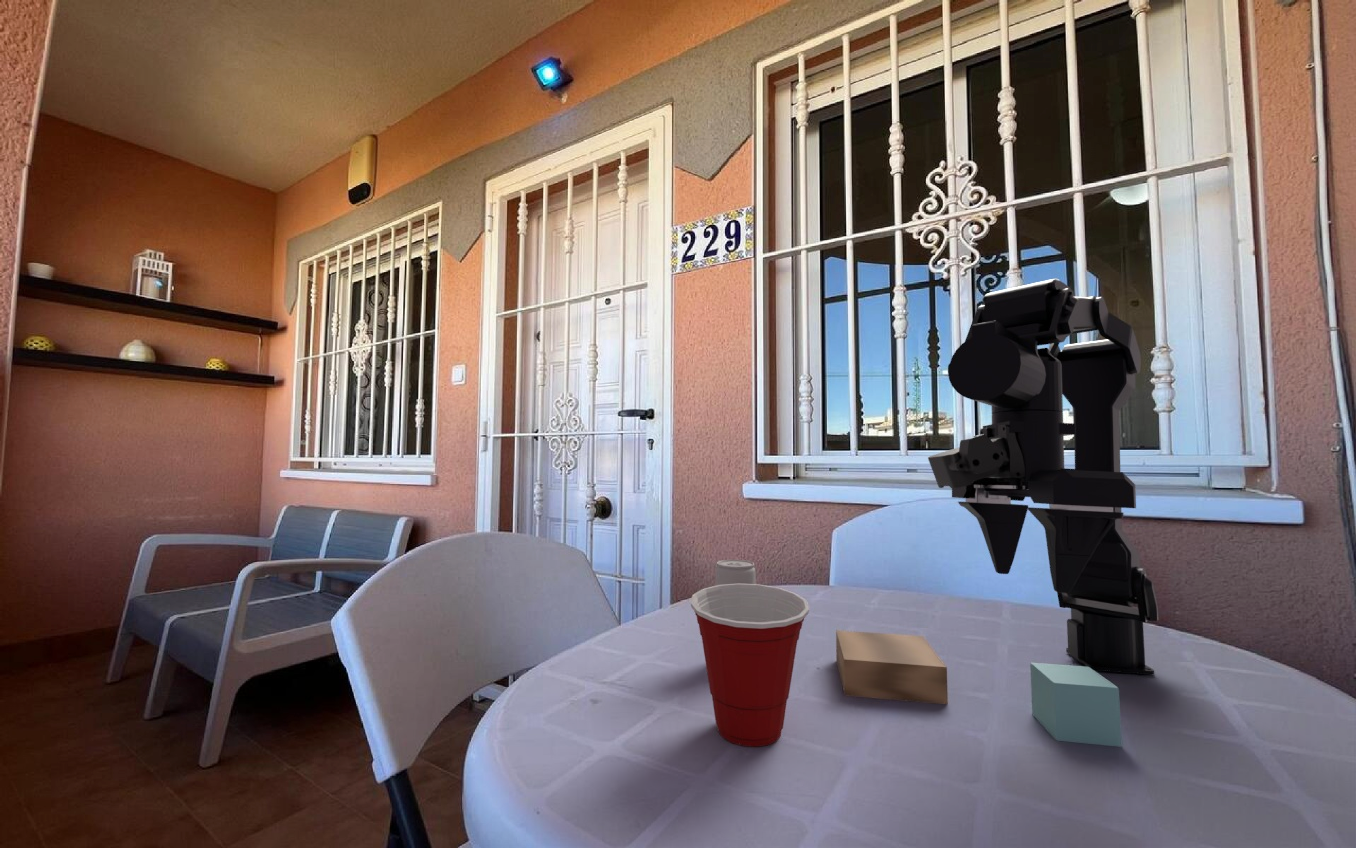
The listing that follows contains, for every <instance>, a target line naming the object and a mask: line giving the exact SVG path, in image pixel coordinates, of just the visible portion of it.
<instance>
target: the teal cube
mask: <svg viewBox="0 0 1356 848" xmlns="http://www.w3.org/2000/svg"><path fill="white" fill-rule="evenodd" d="M1029 666H1030V667H1029V668H1030V688H1031V689H1030V691H1031V713H1032V716H1033V717H1034V718H1035V719H1036V720H1037V721H1038V722H1039V723H1040V724H1041V725H1042V727H1043V728H1044V729H1045V730H1046V731H1047V732H1048V733H1049V734H1050V735H1051V737H1053V739H1054V740H1055V741H1060V742H1069V743H1070V742H1071V743H1080V744H1090V745H1097V746H1098V745H1099V746H1110V747H1119V748H1120V747H1123V746H1122V743H1123V742H1122V726H1121V708H1120V707H1121V706H1120V705H1121V704H1120V689H1119V687H1118V686H1117V685H1115V684H1114V683H1112V682H1111V681H1110V680H1108V679H1106V678H1105V677H1104V676H1102V675H1101V674H1100V673H1099V672H1098V671H1096V670H1093V669H1091V668H1090V667H1087V666H1085V665H1083V666H1082V665H1074V664H1073V665H1072V664H1070V665H1068V664H1058V663H1057V664H1056V663H1042V662H1041V663H1040V662H1030V665H1029Z"/></svg>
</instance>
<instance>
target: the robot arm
mask: <svg viewBox="0 0 1356 848" xmlns="http://www.w3.org/2000/svg"><path fill="white" fill-rule="evenodd" d="M981 300H982V303H983V305H979V306H978V307H977V308H976V311H975V313H974V317H973V319H972V322H971V324H970V328H969V329H968V332H967V335H966V337H965V340H964V342H963V343H961V344H960V345H959V346H958V347H957V349H956V350H955V351H954V353H953V354H952V356H951V359H950V361H949V363H948V364H947V365H948V366H947V374H948V380H949V382H950V385H951V387H952V388H953V389H954V391H956V392H957V393H958V394H959V395H960V396H962V397H963V398H967V399H969V400H972V401H975V402H978V403H981V404H985V405H988V406H990V407H991V424H987V425H983V426H982V428H981V429H980V430H979V434H977V435H974V436H973V437H970V438H964V439H961V440H960V441H959V446H958V447H956V448H952V449H949V450H946V451H943V452H939V453H936V454H933V455H930V456H927V459H928V463H929V465H930V467H931V470H932V473H933V476H934V479H935V481H936V484H937V486H938V488H939V489H943V488H944V487H949V488H950V489H951V498H954V499H965V501H957V503H958V504H959V506H961V507H963V508H964V509H966V510H967V511H968V512H969V513H970V514H971V515H972V516H974V517H975V518H976V520H977V522H978V524H979V526H980V529H981V531H982V534H983V538H984V541H985V544H986V547H987V549H988V552H989V555H990V559H991V561H992V564H993V568H994V569H995V573H997V574H1001V575H1008V574H1010V571H1011V568H1012V565H1013V562H1014V560H1015V556H1016V553H1017V548H1018V545H1019V541H1020V538H1021V535H1022V532H1023V531H1022V530H1023V529H1024V528H1023V527H1024V524H1025V520H1026V517H1027V513H1028V511H1029V512H1030V513H1031V515H1033V517H1034V518H1035V519H1036V520H1037V521H1038V522H1039V523H1040V524H1041V526H1042V527H1043V529H1044V531H1045V541H1046V547H1047V555H1048V556H1047V557H1048V563H1049V572H1050V577H1051V581H1052V586H1053V590H1054V591H1055V592H1056V593H1057V599H1058V601H1057V602H1058V605H1059V606H1058V607H1059V608H1062V609H1065V608H1067V609H1070V618H1068V619H1067V620H1066V628H1067V629H1066V632H1067V633H1066V635H1067V647H1066V648H1065V652H1066V653H1067V654H1068V655H1070V656H1071V657H1072V658H1074V659H1075V660H1077V661H1078V662H1080V663H1081V664H1083V666H1086V667H1090V668H1091V669H1093V670H1094V671H1096V672H1098V671H1101V672H1111V673H1124V674H1125V673H1126V674H1127V673H1128V674H1129V673H1130V674H1138V675H1139V674H1140V675H1153V676H1154V675H1155V670H1154V669H1153V668H1152V667H1150V666H1148V665H1147V664H1146V652H1145V651H1146V650H1145V636H1144V635H1145V634H1144V623H1147V622H1158V621H1159V609H1158V601H1157V596H1156V591H1155V588H1154V587H1155V586H1154V583H1153V581H1152V580H1151V579H1150V578H1149V576H1148V574H1147V570H1146V568H1145V567H1141V554H1140V552H1139V550H1138V549H1137V548H1136V546H1135V545H1134V544H1133V542H1132V541H1131V540H1130V538H1129V537H1128V535H1126V533H1125V532H1124V530H1123V523H1122V521H1123V518H1124V512H1122V508H1123V509H1137V494H1136V484H1135V482H1133V481H1132V479H1130V478H1129V477H1128V476H1127V475H1126V474H1125V473H1124V472H1122V471H1121V442H1120V441H1121V440H1120V437H1121V435H1120V411H1121V409H1122V408H1123V407H1124V406H1125V404H1126V403H1127V401H1128V400H1129V399H1130V398H1131V396H1132V395H1133V393H1134V392H1135V390H1136V374H1140V373H1141V367H1142V358H1141V352H1140V347H1139V345H1138V342H1137V341H1138V340H1137V337H1136V334H1135V331H1134V328H1133V327H1132V325H1130V324H1128V323H1127V322H1125V321H1124V320H1122V319H1120V318H1119V317H1118V316H1116V315H1114V314H1112V313H1110V312H1109V310H1108V306H1107V305H1106V301H1105V299H1104V297H1103V296H1099V297H1096V296H1095V295H1092V296H1087V297H1084V296H1075V292H1074V290H1072V288H1071V287H1070V286H1069V285H1067V284H1066V283H1064V282H1063V281H1062V280H1060V279H1058V278H1052V279H1047V280H1043V281H1038V282H1033V283H1030V284H1024V285H1021V286H1017V287H1015V286H1014V287H1011V288H1007V289H1006V288H1005V289H1001V290H997V291H992V292H989V293H986V294H985V295H984V296H983V297H982V299H981ZM1096 331H1098V333H1099V335H1100V336H1101V337H1103V338H1104V339H1100V340H1093V341H1086V342H1078V343H1069V344H1065V345H1064V346H1063V348H1062V350H1061V348H1060V346H1059V345H1060V344H1061V343H1064V342H1065V341H1066V339H1067V338H1068V337H1069V336H1071V335H1074V334H1075V335H1076V334H1080V333H1088V332H1096ZM1045 345H1046V346H1047V345H1049V347H1042V348H1041V347H1040V348H1038V346H1045ZM1063 397H1064V398H1065V400H1067V402H1068V403H1069V405H1071V407H1072V408H1073V417H1074V418H1073V421H1074V422H1073V423H1072V422H1071V423H1070V422H1068V423H1067V422H1064V411H1063V409H1064V408H1063V407H1064V406H1063V405H1064V404H1063V403H1064V402H1063ZM1065 436H1074V439H1073V440H1074V468H1065V445H1064V444H1065V443H1064V442H1065V441H1064V440H1065V439H1064V437H1065ZM1026 498H1030V499H1031V501H1032V502H1033V504H1041V505H1049V507H1030V506H1029V504H1016V503H1012V501H1015V502H1017V501H1019V502H1024V500H1025V499H1026ZM1134 605H1137V606H1134Z"/></svg>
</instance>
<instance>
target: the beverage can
mask: <svg viewBox="0 0 1356 848" xmlns="http://www.w3.org/2000/svg"><path fill="white" fill-rule="evenodd" d="M738 583H740V584H756V568H755V563H754V561H750V560H745V559H724V560H719V561H717V562H716V566H715V586H717V585H725V584H738Z"/></svg>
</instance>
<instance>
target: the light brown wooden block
mask: <svg viewBox="0 0 1356 848" xmlns="http://www.w3.org/2000/svg"><path fill="white" fill-rule="evenodd" d="M835 636H836V637H835V642H836V643H835V645H836V646H835V647H836V664H837V668H838V673H839V678H840V681H841V685H842V690H843V694H844V696H848V697H859V698H860V697H861V698H871V699H872V698H873V699H884V700H895V701H904V702H905V700H907V701H906V702H915V701H918V703H929V704H930V703H931V704H940V705H948V703H949V701H948V700H949V699H948V698H949V697H948V692H949V691H948V666H946V664H945V663H944V662H943V660H942V659H941V658H940V657H939V654H937V652H936V651H935V650H934V648H933V647H932V646H931V645H930V643H929V642H928V640H927V639H926V638H925V637H924V635H912V634H897V633H884V632H883V633H880V632H869V631H868V632H867V631H852V630H851V631H849V630H838V629H837V630H836V631H835Z"/></svg>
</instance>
